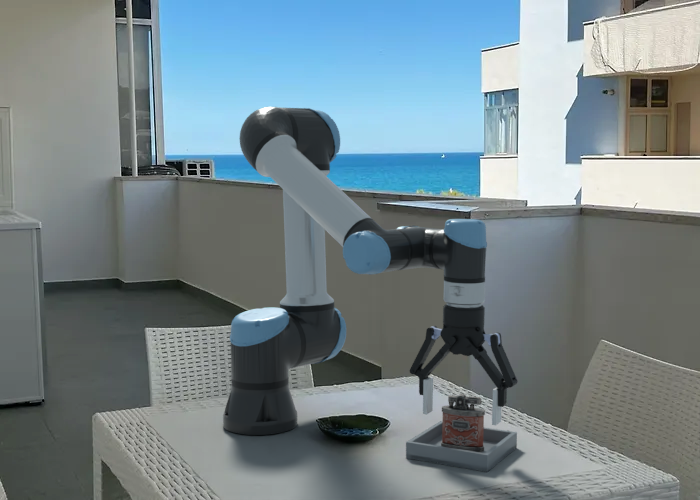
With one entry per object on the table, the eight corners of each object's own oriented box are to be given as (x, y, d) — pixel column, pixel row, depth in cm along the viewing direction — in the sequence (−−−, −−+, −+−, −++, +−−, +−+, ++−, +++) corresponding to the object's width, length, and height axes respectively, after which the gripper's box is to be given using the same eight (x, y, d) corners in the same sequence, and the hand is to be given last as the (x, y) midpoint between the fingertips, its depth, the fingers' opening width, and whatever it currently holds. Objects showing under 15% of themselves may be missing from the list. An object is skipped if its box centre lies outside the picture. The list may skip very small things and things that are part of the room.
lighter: (438, 448, 172) (439, 395, 171) (444, 443, 175) (444, 391, 174) (481, 453, 169) (482, 399, 168) (486, 448, 172) (487, 395, 171)
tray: (406, 458, 169) (406, 442, 168) (440, 435, 182) (440, 421, 182) (487, 472, 161) (487, 455, 161) (516, 447, 175) (516, 432, 175)
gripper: (393, 301, 172) (391, 413, 174) (523, 313, 160) (519, 433, 162) (410, 295, 178) (408, 403, 181) (536, 307, 166) (533, 422, 169)
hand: (461, 418), depth 171 cm, fingers open, 13 cm apart
